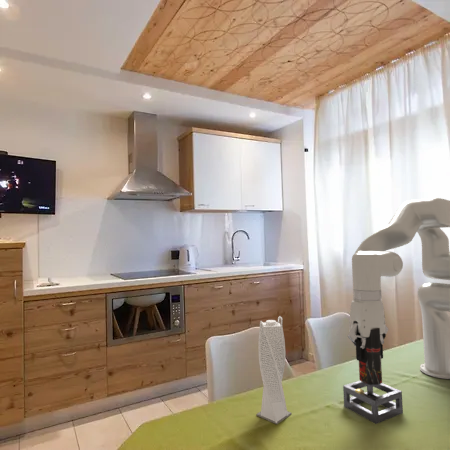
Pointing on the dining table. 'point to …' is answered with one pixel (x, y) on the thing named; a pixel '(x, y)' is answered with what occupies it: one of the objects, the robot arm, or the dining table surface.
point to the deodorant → (372, 360)
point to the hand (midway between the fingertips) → (369, 358)
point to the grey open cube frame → (373, 401)
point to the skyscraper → (272, 371)
